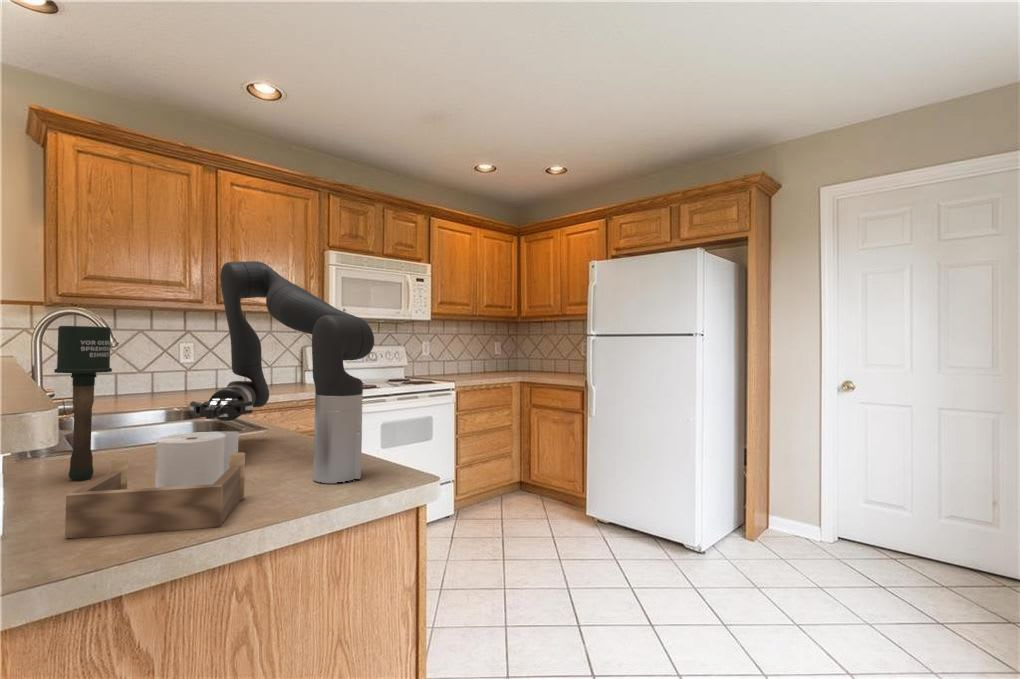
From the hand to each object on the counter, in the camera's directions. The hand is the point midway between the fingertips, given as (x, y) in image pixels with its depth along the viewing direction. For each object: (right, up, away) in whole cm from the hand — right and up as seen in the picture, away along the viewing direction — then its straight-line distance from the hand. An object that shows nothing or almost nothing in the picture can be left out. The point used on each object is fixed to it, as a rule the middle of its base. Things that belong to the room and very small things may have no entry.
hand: (210, 413), depth 100 cm
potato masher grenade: (-23, -12, -4) cm, 26 cm away
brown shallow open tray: (+7, -13, -23) cm, 27 cm away
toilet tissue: (+3, -13, -10) cm, 16 cm away
